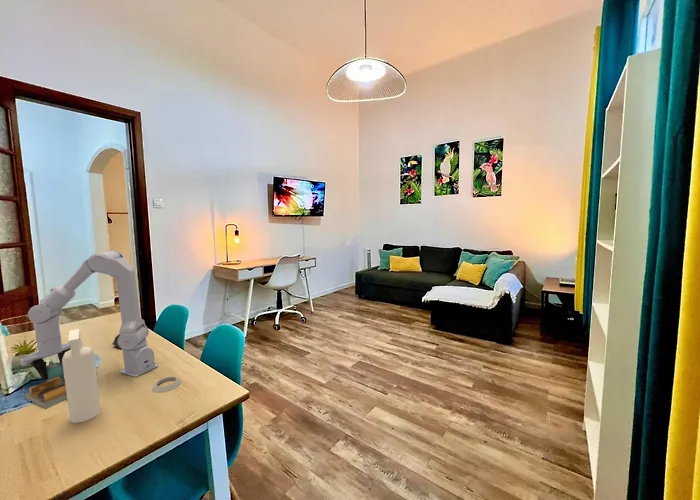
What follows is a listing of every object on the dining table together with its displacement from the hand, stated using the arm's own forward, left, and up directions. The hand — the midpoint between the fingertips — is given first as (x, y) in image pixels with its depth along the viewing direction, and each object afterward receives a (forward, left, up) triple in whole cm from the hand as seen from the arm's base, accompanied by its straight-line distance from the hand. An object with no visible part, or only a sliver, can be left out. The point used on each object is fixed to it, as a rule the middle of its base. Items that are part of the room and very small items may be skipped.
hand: (54, 375), depth 103 cm
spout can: (0, 0, -1) cm, 1 cm away
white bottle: (-32, +6, -2) cm, 33 cm away
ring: (-40, -12, -2) cm, 42 cm away
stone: (+9, -27, -2) cm, 29 cm away
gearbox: (-12, +4, -1) cm, 13 cm away
